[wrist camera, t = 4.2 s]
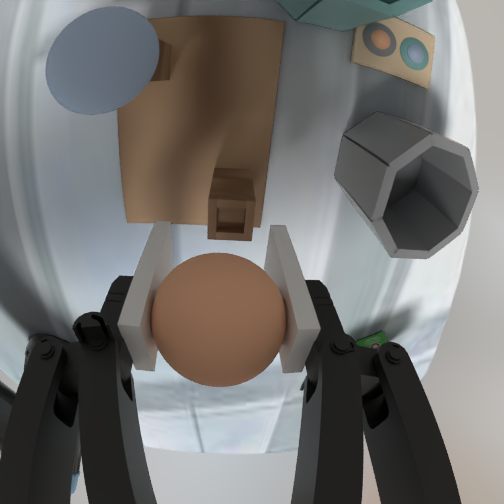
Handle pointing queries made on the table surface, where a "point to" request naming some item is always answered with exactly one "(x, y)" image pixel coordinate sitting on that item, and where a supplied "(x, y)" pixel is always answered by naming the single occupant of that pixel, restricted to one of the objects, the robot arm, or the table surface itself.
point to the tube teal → (347, 11)
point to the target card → (395, 50)
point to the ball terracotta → (218, 319)
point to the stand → (203, 125)
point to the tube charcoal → (407, 184)
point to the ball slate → (102, 60)
